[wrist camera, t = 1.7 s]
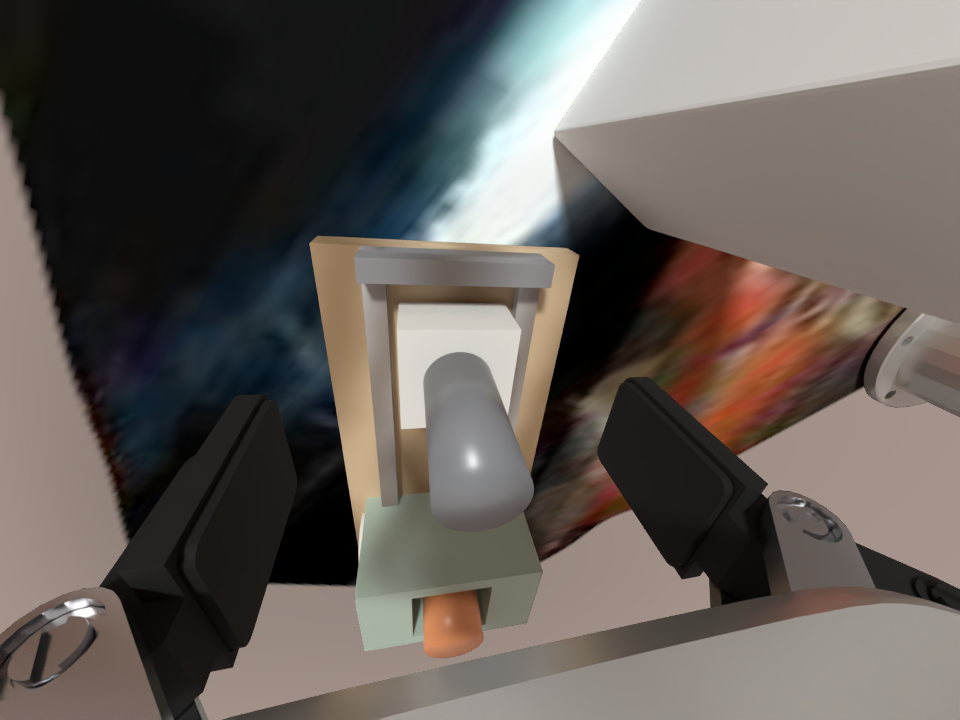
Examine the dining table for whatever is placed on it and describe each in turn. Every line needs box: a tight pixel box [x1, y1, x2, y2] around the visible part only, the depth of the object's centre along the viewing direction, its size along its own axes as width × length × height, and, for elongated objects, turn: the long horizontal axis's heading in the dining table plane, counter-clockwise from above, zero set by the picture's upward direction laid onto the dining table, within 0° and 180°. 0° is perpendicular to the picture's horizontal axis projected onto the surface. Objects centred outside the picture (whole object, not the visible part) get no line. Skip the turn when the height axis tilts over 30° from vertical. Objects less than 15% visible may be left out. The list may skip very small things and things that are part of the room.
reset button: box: [423, 589, 483, 658], centre depth 20 cm, size 3×3×3 cm
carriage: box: [397, 302, 534, 532], centre depth 14 cm, size 5×5×9 cm
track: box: [310, 236, 579, 548], centre depth 20 cm, size 12×22×4 cm, turn 175°
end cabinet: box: [355, 492, 543, 651], centre depth 23 cm, size 10×6×8 cm, turn 85°
